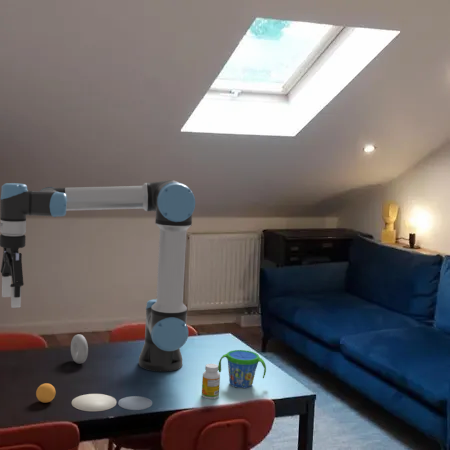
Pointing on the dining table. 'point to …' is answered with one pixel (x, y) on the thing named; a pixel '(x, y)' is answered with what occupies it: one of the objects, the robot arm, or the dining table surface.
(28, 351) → the dining table surface
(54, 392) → the ball
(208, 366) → the supplement bottle
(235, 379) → the snack cup
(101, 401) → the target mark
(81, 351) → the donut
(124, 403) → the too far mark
